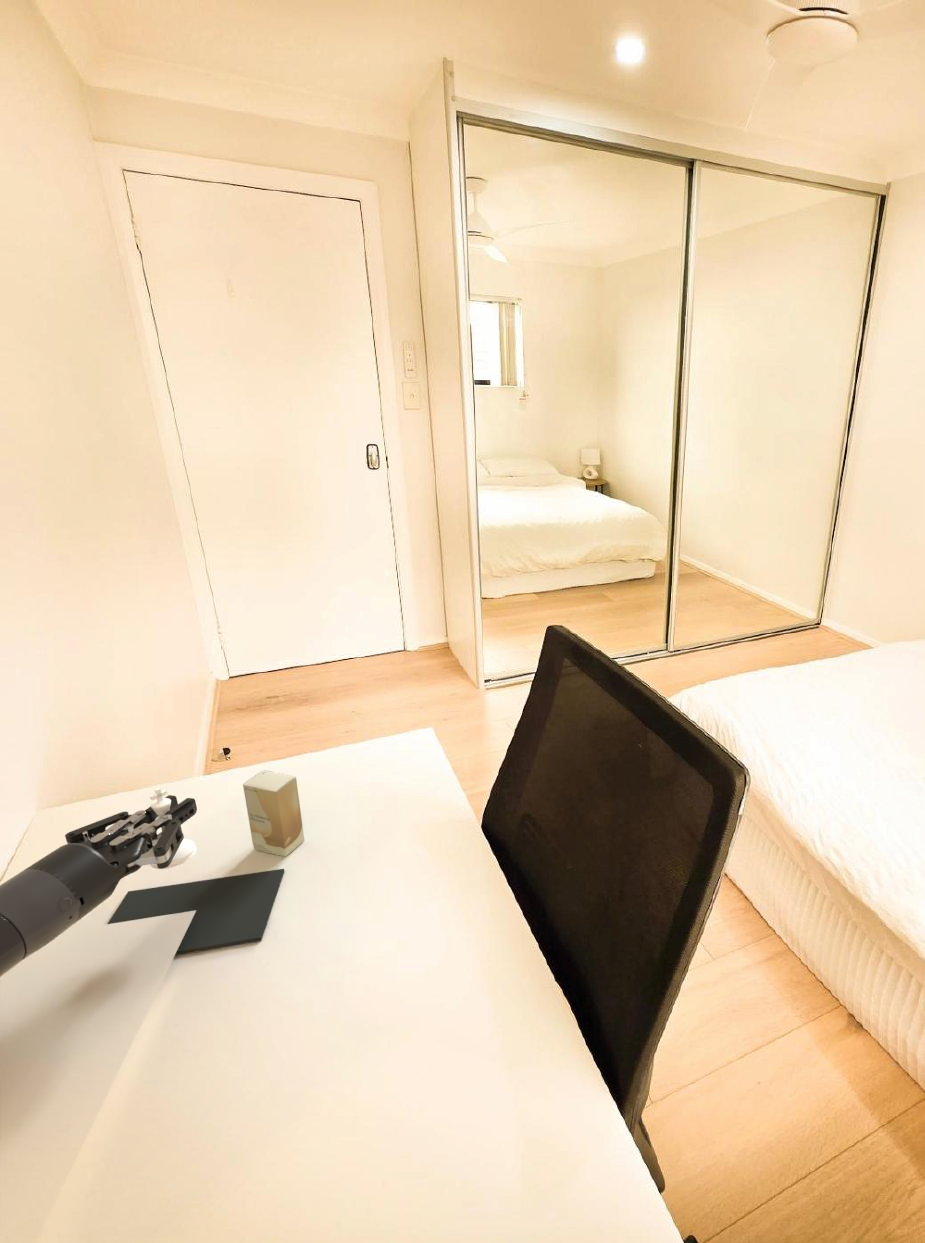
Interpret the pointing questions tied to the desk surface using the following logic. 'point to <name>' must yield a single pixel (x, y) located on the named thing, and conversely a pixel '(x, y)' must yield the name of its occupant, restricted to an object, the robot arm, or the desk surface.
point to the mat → (210, 908)
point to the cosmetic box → (274, 812)
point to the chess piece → (186, 846)
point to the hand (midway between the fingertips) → (184, 802)
